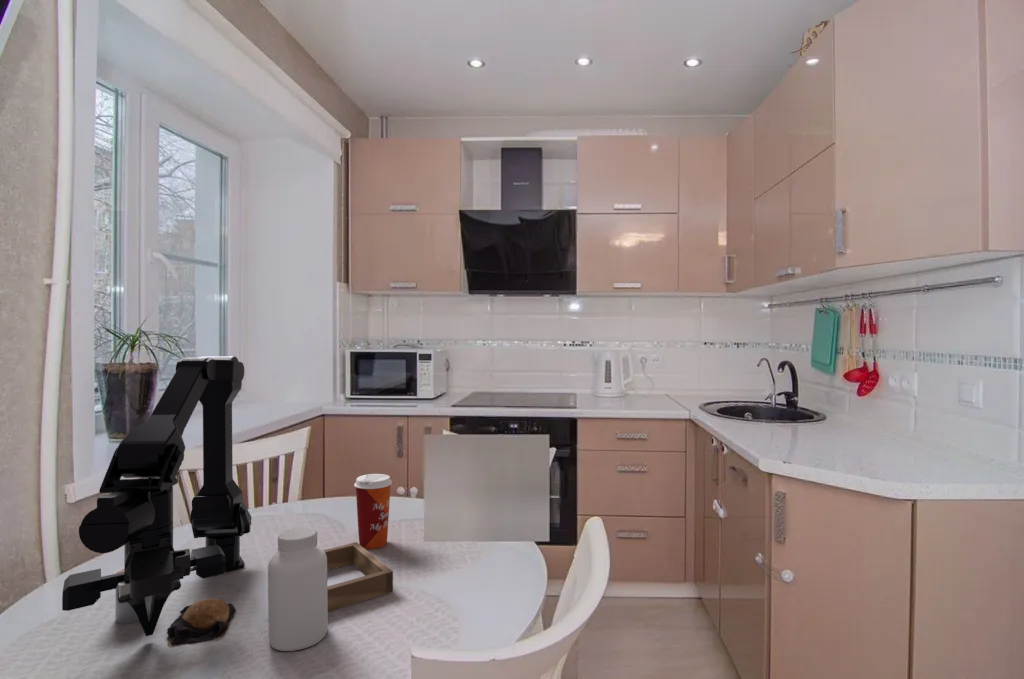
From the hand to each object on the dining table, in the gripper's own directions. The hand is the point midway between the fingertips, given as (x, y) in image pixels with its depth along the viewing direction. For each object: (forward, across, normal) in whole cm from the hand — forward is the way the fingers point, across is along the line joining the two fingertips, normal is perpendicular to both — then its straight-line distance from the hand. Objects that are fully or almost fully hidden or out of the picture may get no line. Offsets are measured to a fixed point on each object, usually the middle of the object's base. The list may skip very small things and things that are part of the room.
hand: (149, 634), depth 76 cm
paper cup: (+1, +40, +15) cm, 42 cm away
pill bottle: (+1, +17, -12) cm, 21 cm away
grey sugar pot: (+1, -1, +10) cm, 10 cm away
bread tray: (+1, +26, +1) cm, 26 cm away
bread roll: (+2, +7, +1) cm, 7 cm away
